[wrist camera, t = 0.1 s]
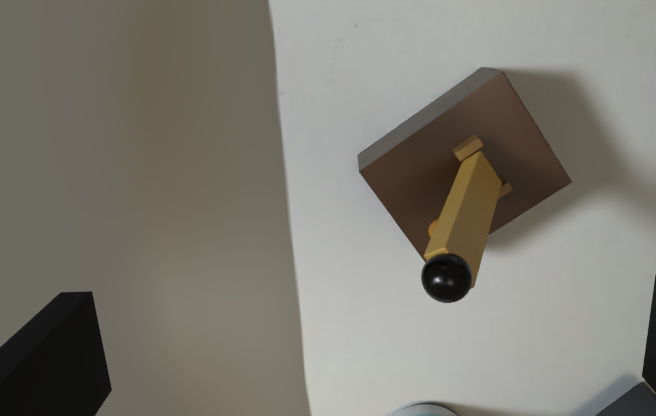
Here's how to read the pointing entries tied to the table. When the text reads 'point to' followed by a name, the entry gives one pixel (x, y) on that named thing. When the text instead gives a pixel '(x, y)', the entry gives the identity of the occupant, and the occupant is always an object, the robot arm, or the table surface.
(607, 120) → the table surface
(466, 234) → the toggle
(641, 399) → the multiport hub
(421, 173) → the switch box
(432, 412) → the pill bottle
